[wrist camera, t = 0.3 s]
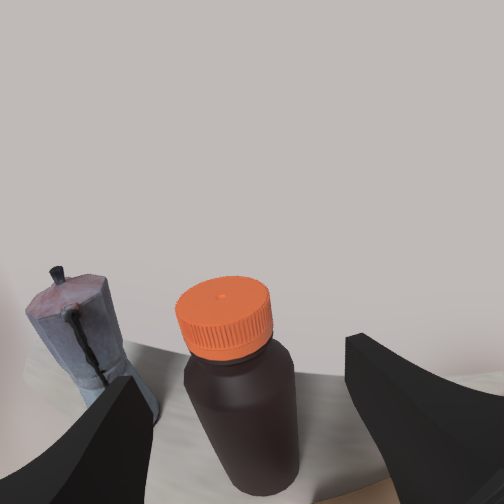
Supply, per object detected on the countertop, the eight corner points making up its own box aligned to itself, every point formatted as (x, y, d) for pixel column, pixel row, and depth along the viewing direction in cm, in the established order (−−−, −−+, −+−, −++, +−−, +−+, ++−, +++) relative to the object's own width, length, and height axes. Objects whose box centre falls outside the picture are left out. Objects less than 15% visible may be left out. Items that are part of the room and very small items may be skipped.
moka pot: (134, 369, 38) (82, 240, 30) (196, 432, 27) (129, 270, 20) (81, 399, 32) (13, 270, 24) (128, 476, 21) (15, 325, 14)
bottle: (283, 433, 26) (261, 258, 19) (310, 482, 20) (312, 311, 13) (221, 452, 25) (155, 285, 17) (239, 506, 19) (159, 355, 11)
